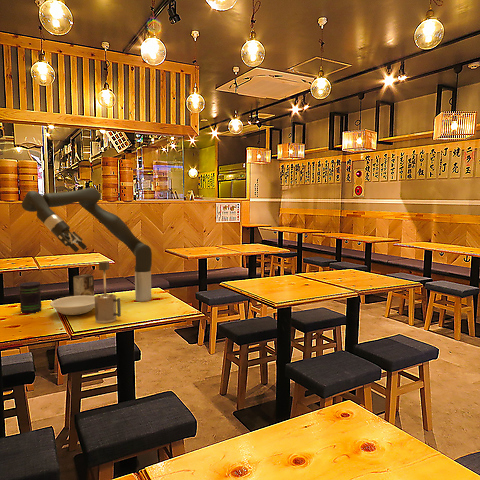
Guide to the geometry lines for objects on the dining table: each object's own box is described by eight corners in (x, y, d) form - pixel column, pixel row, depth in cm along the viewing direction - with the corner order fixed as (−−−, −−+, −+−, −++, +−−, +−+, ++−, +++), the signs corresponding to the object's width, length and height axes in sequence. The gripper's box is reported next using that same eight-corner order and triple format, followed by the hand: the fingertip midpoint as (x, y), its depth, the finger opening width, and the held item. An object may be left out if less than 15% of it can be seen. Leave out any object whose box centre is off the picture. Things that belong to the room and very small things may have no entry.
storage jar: (45, 311, 205) (44, 283, 203) (26, 315, 197) (24, 286, 195) (36, 307, 211) (34, 280, 209) (17, 312, 203) (15, 284, 201)
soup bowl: (52, 309, 208) (52, 297, 207) (100, 305, 216) (99, 293, 216) (48, 322, 186) (47, 309, 185) (101, 317, 194) (100, 304, 193)
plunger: (101, 297, 191) (100, 261, 189) (113, 297, 191) (112, 261, 189) (97, 300, 185) (95, 263, 184) (108, 300, 185) (107, 263, 183)
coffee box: (88, 301, 226) (87, 273, 224) (95, 302, 222) (94, 275, 220) (73, 304, 218) (72, 276, 217) (80, 306, 214) (79, 277, 213)
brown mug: (100, 317, 194) (99, 293, 193) (123, 317, 194) (123, 294, 193) (92, 323, 185) (91, 298, 183) (117, 323, 184) (116, 298, 183)
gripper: (59, 230, 193) (82, 253, 193) (43, 232, 178) (69, 257, 179) (69, 219, 192) (92, 242, 193) (54, 220, 178) (80, 245, 178)
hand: (81, 249), depth 186 cm, fingers open, 8 cm apart
